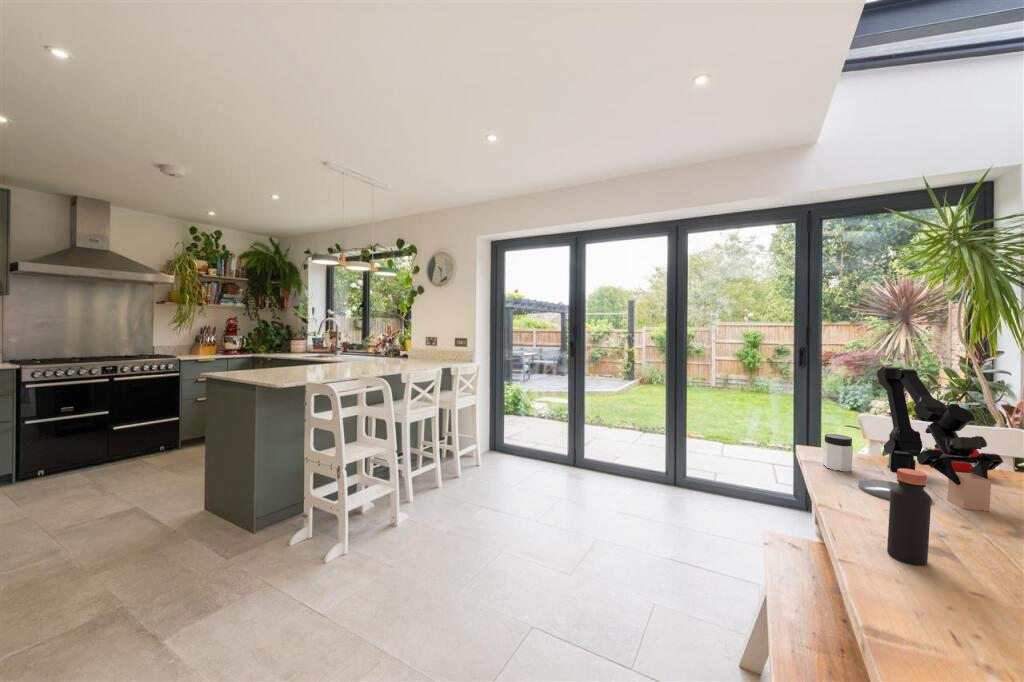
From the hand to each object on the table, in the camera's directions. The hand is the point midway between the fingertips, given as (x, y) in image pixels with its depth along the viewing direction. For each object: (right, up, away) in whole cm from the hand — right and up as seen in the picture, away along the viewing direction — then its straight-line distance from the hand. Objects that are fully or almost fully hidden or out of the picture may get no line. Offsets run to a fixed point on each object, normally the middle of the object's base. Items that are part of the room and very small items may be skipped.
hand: (972, 485), depth 124 cm
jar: (-14, -5, +34) cm, 37 cm away
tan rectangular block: (0, -7, +2) cm, 7 cm away
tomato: (+30, -6, +33) cm, 45 cm away
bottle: (-46, -7, -28) cm, 54 cm away
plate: (-14, -6, +10) cm, 19 cm away
